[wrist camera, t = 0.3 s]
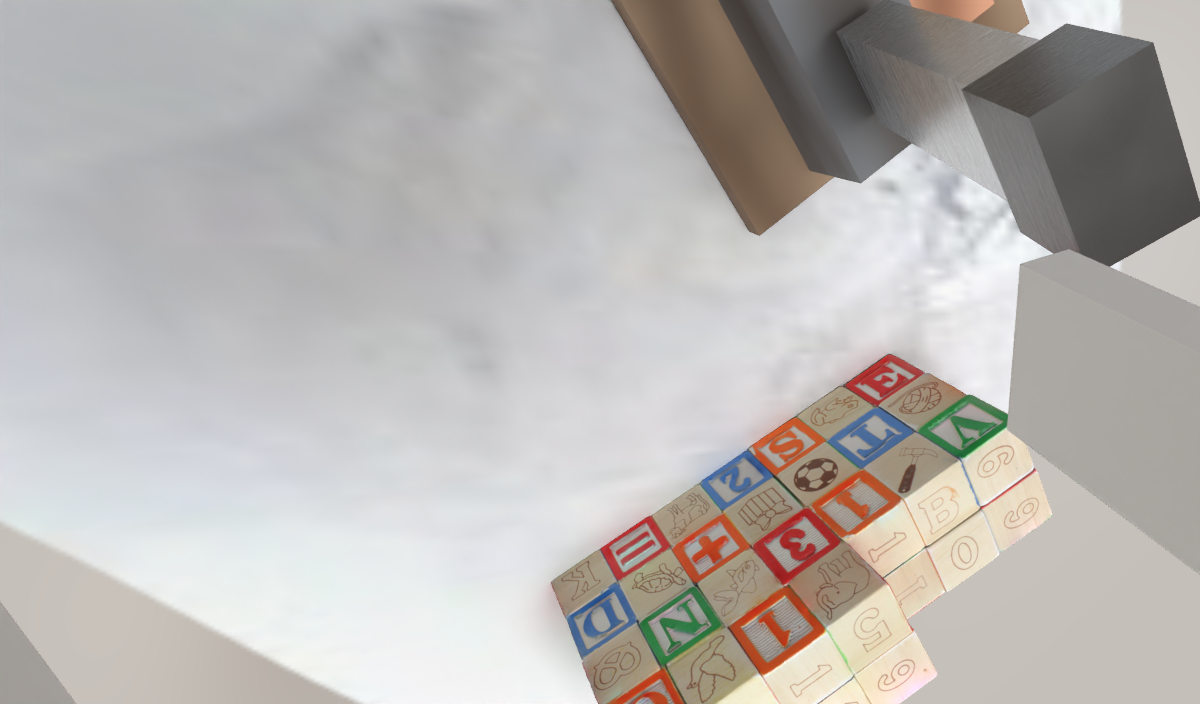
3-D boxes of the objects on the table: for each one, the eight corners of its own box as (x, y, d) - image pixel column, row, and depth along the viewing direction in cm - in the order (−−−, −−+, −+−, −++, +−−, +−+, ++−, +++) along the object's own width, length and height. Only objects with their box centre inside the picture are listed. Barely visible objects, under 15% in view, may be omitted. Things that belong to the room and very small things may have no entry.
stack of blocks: (888, 347, 44) (1079, 447, 32) (925, 434, 46) (1113, 554, 35) (546, 582, 42) (625, 771, 31) (605, 658, 45) (697, 857, 34)
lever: (873, 135, 33) (1090, 277, 20) (823, 31, 31) (1029, 117, 18) (938, 94, 32) (1203, 214, 20) (891, -15, 30) (1153, 42, 18)
